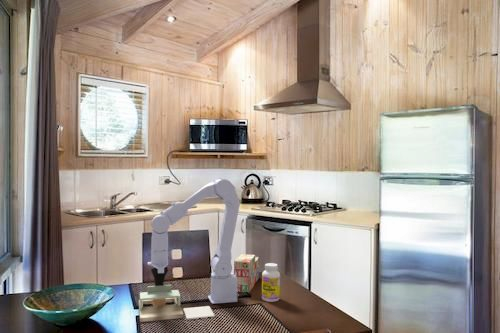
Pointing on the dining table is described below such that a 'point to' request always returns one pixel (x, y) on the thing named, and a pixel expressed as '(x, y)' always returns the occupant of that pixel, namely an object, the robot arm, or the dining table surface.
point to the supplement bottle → (271, 283)
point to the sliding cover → (159, 293)
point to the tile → (198, 312)
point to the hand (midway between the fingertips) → (159, 288)
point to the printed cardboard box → (246, 272)
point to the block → (159, 302)
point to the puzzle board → (160, 311)
